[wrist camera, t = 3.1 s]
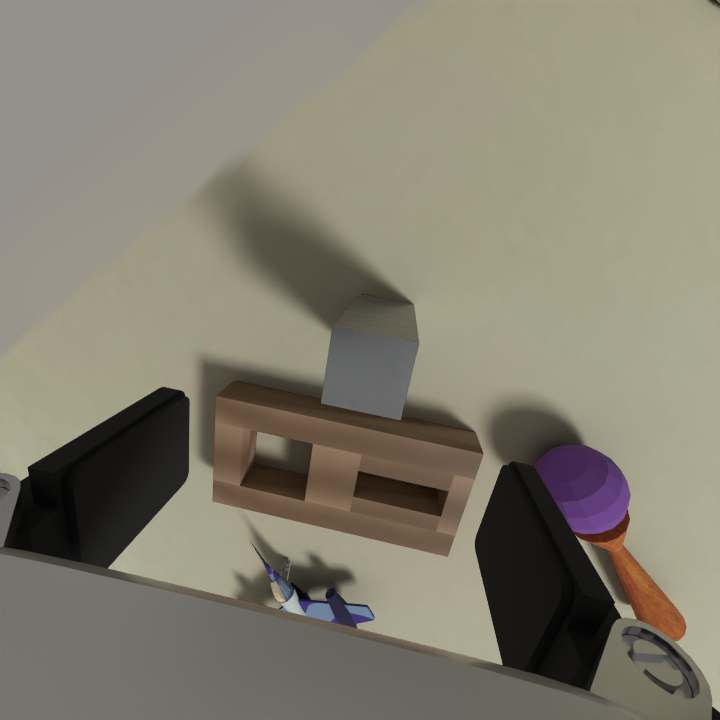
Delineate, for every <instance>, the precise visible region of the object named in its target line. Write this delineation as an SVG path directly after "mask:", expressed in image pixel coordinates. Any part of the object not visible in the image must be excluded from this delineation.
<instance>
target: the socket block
mask: <svg viewBox="0 0 720 720" xmlns="http://www.w3.org/2000/svg"><path fill="white" fill-rule="evenodd" d="M257 431H258V432H262V433H267V434H271V435H276V436H280V437H285V438H289V439H294V440H298V441H303V442H307V443H312V444H313V447H312V454H311V461H310V468H309V475H308V476H306V475H301V474H297V473H293V472H288V471H284V470H279V469H275V468H271V467H266V466H262V465H257V464H254V461H255V449H256V437H257ZM483 455H484V454H483V451H482V448H481V446H480V443H479V440H478V437H477V435H476V432H472V431H467V430H462V429H458V428H453V427H448V426H444V425H439V424H434V423H430V422H425V421H420V420H416V419H411V418H406V417H402V416H401V420H396V419H392V418H387V417H382V416H378V415H373V414H368V413H364V412H359V411H354V410H350V409H345V408H340V407H336V406H331V405H327V404H322V403H321V399H318V398H313V397H308V396H304V395H299V394H294V393H290V392H285V391H280V390H276V389H271V388H266V387H261V386H257V385H252V384H247V383H243V382H238V381H233V382H232V383H231V384H230V385H229V386H227V387H226V388H225V389H224V390H223V391H221V392H220V393H219V394H218V395H217V396H216V410H215V440H214V471H213V502H217V503H222V504H226V505H230V506H234V507H239V508H243V509H247V510H251V511H256V512H260V513H264V514H268V515H273V516H277V517H281V518H285V519H290V520H294V521H298V522H302V523H307V524H311V525H315V526H319V527H324V528H328V529H332V530H336V531H341V532H345V533H349V534H353V535H358V536H362V537H366V538H370V539H375V540H379V541H383V542H387V543H392V544H396V545H400V546H404V547H409V548H413V549H417V550H421V551H426V552H430V553H434V554H438V555H443V556H447V557H448V554H449V552H450V549H451V546H452V543H453V540H454V537H455V534H456V532H457V529H458V526H459V523H460V520H461V517H462V514H463V512H464V509H465V506H466V503H467V500H468V497H469V495H470V492H471V489H472V486H473V483H474V480H475V477H476V475H477V472H478V469H479V466H480V463H481V460H482V457H483ZM358 471H361V472H365V473H370V474H374V475H379V476H383V477H388V478H392V479H397V480H401V481H406V482H410V483H414V484H419V485H423V486H428V487H432V488H437V489H438V491H436V490H432V489H427V488H423V487H418V486H414V485H410V484H405V483H401V482H396V481H392V480H387V479H383V478H378V477H374V476H370V475H365V474H361V473H358Z"/></svg>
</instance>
